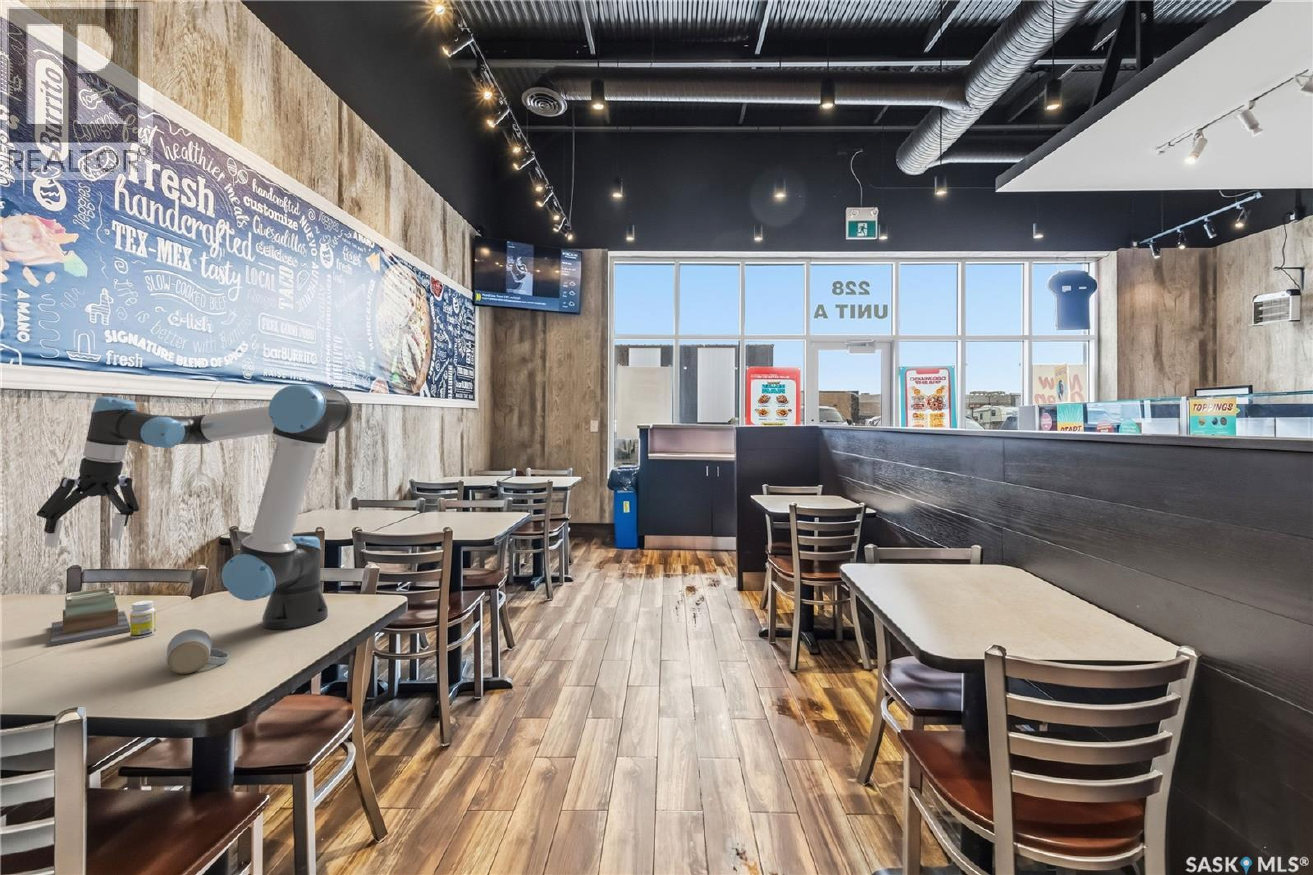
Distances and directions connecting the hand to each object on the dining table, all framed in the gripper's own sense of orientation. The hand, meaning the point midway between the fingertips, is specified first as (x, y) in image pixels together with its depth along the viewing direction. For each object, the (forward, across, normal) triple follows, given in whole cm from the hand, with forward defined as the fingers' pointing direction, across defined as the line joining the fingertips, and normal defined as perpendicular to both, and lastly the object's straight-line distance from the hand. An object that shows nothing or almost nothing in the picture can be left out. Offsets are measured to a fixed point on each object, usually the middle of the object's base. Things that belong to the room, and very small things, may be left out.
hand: (84, 542), depth 141 cm
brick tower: (+25, -7, -2) cm, 26 cm away
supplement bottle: (+21, -6, +16) cm, 27 cm away
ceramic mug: (+15, +7, +49) cm, 51 cm away
